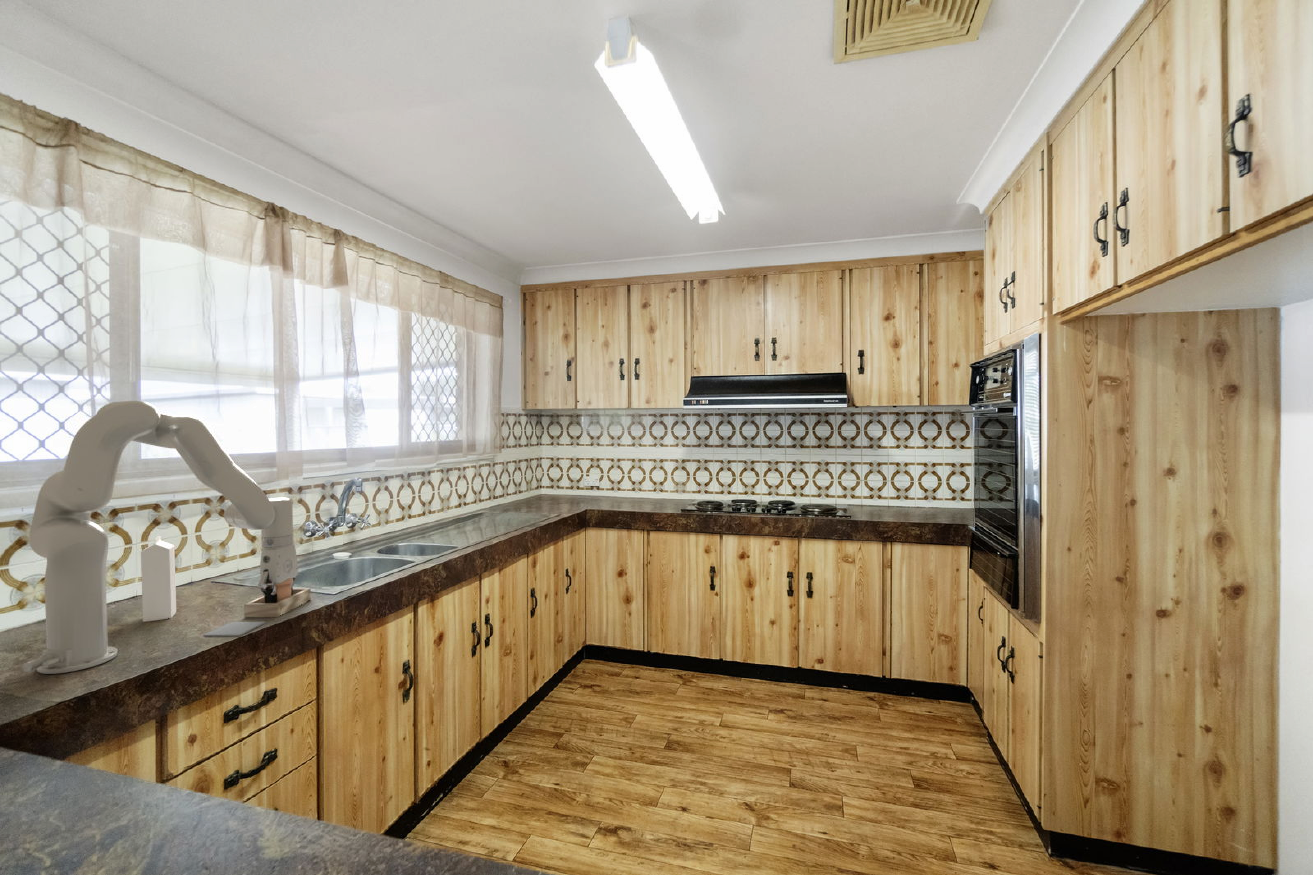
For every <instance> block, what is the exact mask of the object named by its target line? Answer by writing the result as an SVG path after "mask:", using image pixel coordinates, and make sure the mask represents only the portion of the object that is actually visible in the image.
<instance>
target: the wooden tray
mask: <svg viewBox="0 0 1313 875" xmlns="http://www.w3.org/2000/svg"><path fill="white" fill-rule="evenodd" d="M311 589H312V588H309V587H307V588H306V587H305V588H304V587H301V588H298V587H297V588H294V587H293V595H292V596H290V597H288V598H286V599H284V600H282V601H280V602H277V603H265V595H262V596H260V597H258V598H255V599H254V600H251V601H249V602H246V603H244V604H243V608H244V610H243V611H244V616H243V617H244V618H278V617H280V615H281V616H282V614H283V615H284V614H287V613H288V612H290V611H292V610H294V609H296V608H299V607H300V606H302V605H304V604H306V603H308V602H309V601H308V600H310V601H311V600H312V596H311V595H312V594H311V591H312V590H311ZM307 601H308V602H307ZM301 604H302V605H301ZM299 605H300V606H299ZM291 609H292V610H291Z"/></svg>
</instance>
